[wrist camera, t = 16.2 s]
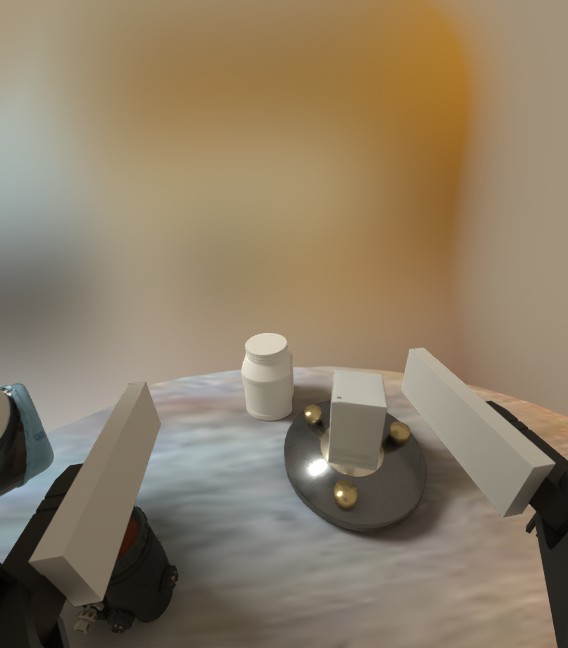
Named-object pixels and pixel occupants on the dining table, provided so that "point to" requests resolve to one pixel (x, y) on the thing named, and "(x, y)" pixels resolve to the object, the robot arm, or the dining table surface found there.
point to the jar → (268, 377)
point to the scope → (134, 581)
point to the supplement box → (356, 419)
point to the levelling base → (354, 474)
